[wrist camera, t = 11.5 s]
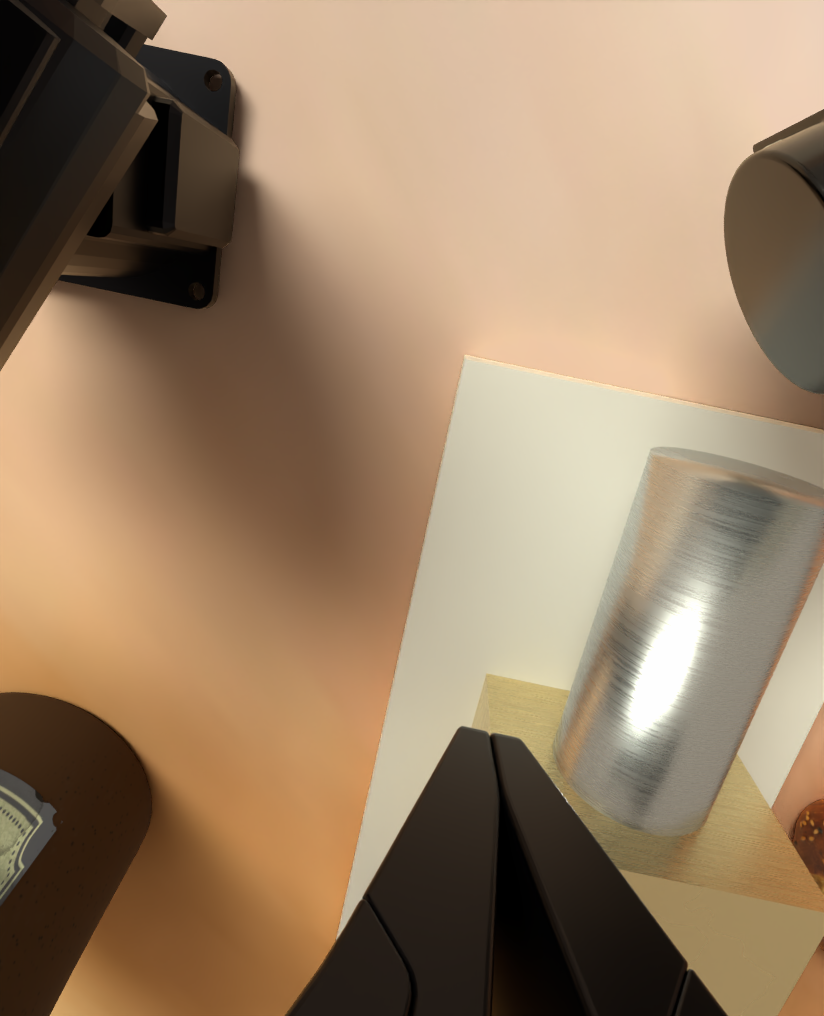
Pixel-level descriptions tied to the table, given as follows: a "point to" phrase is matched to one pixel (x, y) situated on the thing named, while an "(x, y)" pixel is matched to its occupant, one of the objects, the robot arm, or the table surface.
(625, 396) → the mount board
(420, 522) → the table surface
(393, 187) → the table surface
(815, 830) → the pretzel
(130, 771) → the olive oil
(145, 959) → the table surface
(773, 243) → the pneumatic valve
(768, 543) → the valve body
